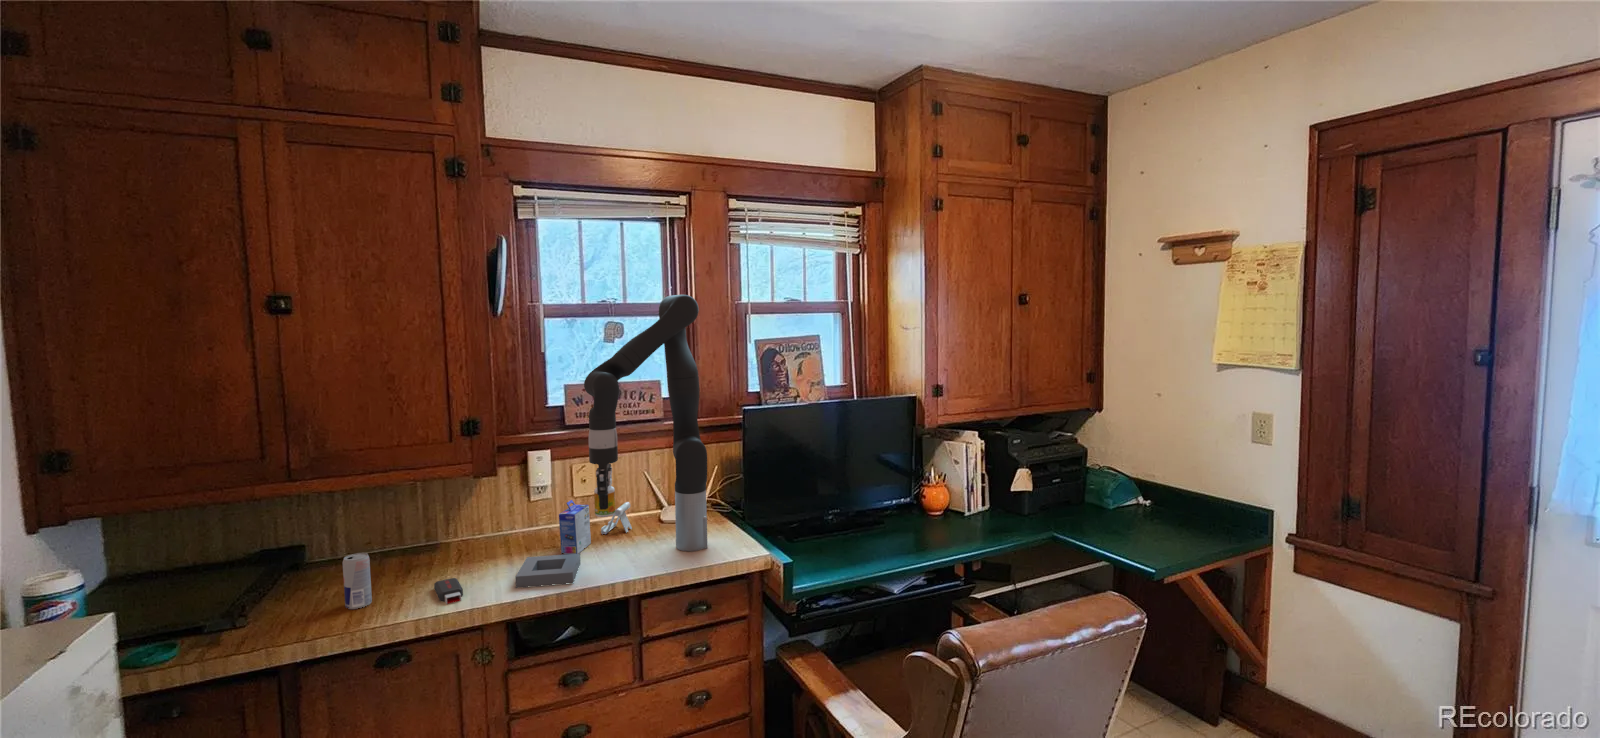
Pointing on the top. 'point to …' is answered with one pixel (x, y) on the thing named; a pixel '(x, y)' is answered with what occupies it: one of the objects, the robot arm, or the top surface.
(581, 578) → the top surface
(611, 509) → the supplement bottle
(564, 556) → the socket block
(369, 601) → the energy drink
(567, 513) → the ink cartridge box
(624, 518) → the portable electronic device stand
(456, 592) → the usb drive
